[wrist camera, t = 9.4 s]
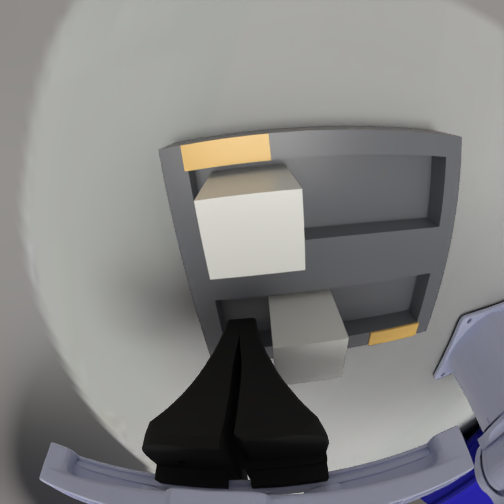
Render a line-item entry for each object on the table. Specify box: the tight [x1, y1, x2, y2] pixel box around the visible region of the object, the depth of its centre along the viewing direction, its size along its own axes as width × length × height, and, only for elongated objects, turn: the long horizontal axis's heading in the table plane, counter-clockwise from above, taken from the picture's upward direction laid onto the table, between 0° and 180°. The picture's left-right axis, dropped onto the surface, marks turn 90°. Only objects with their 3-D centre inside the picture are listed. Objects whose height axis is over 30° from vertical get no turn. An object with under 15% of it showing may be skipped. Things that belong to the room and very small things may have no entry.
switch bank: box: [159, 126, 462, 358], centre depth 13 cm, size 13×11×2 cm
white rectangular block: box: [194, 164, 305, 280], centre depth 10 cm, size 3×3×4 cm
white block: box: [268, 289, 349, 385], centre depth 13 cm, size 3×3×4 cm
